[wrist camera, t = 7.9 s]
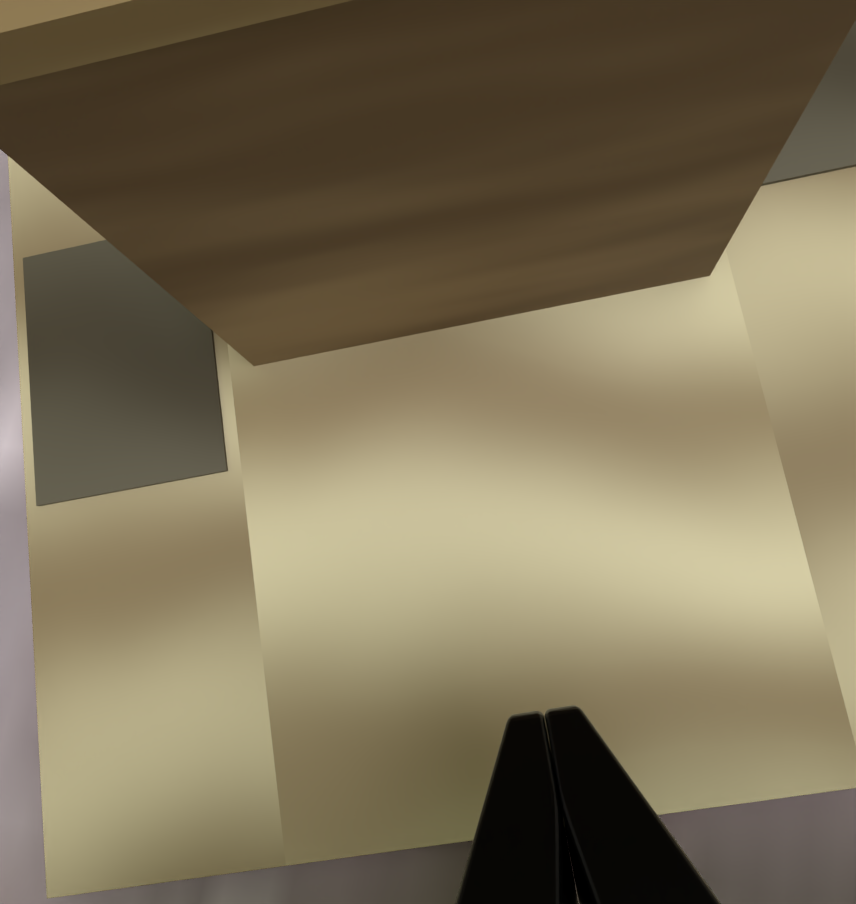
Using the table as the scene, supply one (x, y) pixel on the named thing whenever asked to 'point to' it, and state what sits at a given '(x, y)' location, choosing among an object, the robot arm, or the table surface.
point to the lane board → (437, 544)
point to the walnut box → (406, 148)
